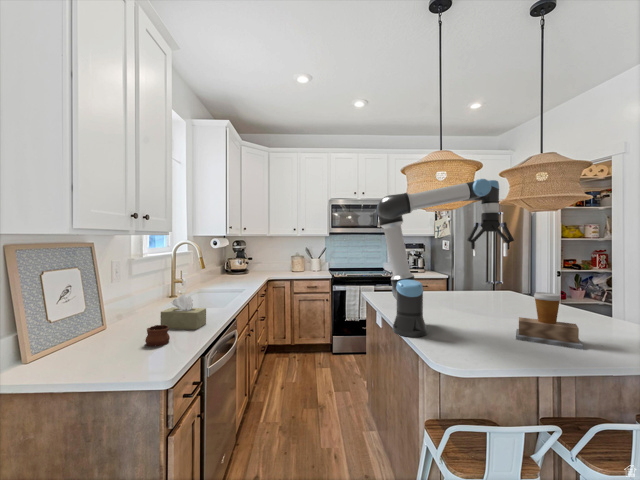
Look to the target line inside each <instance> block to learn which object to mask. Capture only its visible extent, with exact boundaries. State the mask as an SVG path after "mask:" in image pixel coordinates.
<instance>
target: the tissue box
mask: <svg viewBox="0 0 640 480" xmlns="http://www.w3.org/2000/svg"><path fill="white" fill-rule="evenodd" d="M170 304H171V305H172V306H174V307H169V308H166V309H164V310H162V311H160V325H167V326H168V327H169V329H175V330H177V329H179V330H198V329H200V328H202V327H203V326H205V325H207V308H206V307H193V305H194V303H193V299H192V297H191V296H188V297H187V296H186V295H185V294H184V293H183V294H181V295H179V297H178V298H174V299H173V300H172V301H171V302H170Z"/></svg>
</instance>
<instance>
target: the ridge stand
mask: <svg viewBox="0 0 640 480" xmlns="http://www.w3.org/2000/svg"><path fill="white" fill-rule="evenodd" d="M579 332H580V331H579V327H578V324H577V323H570V322H565V321H564V322H562V321H556V323H555V324H548V323H542V322H539V321H538V318H529V317H522V316H521V317H518V328H516V331H515V340H518V341H524V342H529V343H537V344H544V345H550V346H557V347H564V348H569V349H570V348H571V349H578V350H582V349H583V350H584V344H583V343H582V342H581V340H580V338H579V336H580V334H579Z"/></svg>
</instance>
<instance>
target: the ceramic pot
mask: <svg viewBox="0 0 640 480" xmlns="http://www.w3.org/2000/svg"><path fill="white" fill-rule="evenodd" d="M169 329H170V328H169V327H168V326H167V325H161V324H156V325H154V326H153V325H151V326H150V327H146V334H147V335H146V337H145V339H144V341H145V345H146V346H147V347H151V348H152V347H161V346H165V345H167V344H169V343H170V334H169V333H168V331H169Z"/></svg>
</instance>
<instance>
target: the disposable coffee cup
mask: <svg viewBox="0 0 640 480" xmlns="http://www.w3.org/2000/svg"><path fill="white" fill-rule="evenodd" d="M533 297H534V301H535V308H536V315H537V319H538V321H539V322H542V323H548V324H555V323H556V322H558V321H557V320H558V313H559V307H560V302H561V299H562V298H561V295H560V293H559V294H558V293H553V292H543V291H542V292H541V291H537V292H534V295H533Z"/></svg>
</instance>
